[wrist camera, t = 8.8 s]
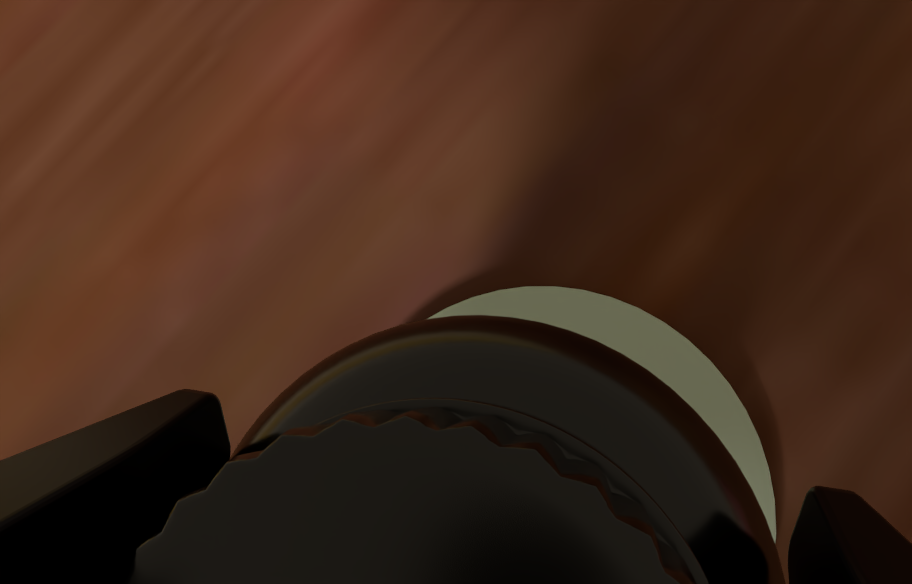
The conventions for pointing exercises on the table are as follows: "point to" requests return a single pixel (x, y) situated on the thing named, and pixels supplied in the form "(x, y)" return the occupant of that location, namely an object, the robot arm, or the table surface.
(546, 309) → the green pad
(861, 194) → the table surface
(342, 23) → the table surface
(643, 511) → the supplement bottle
